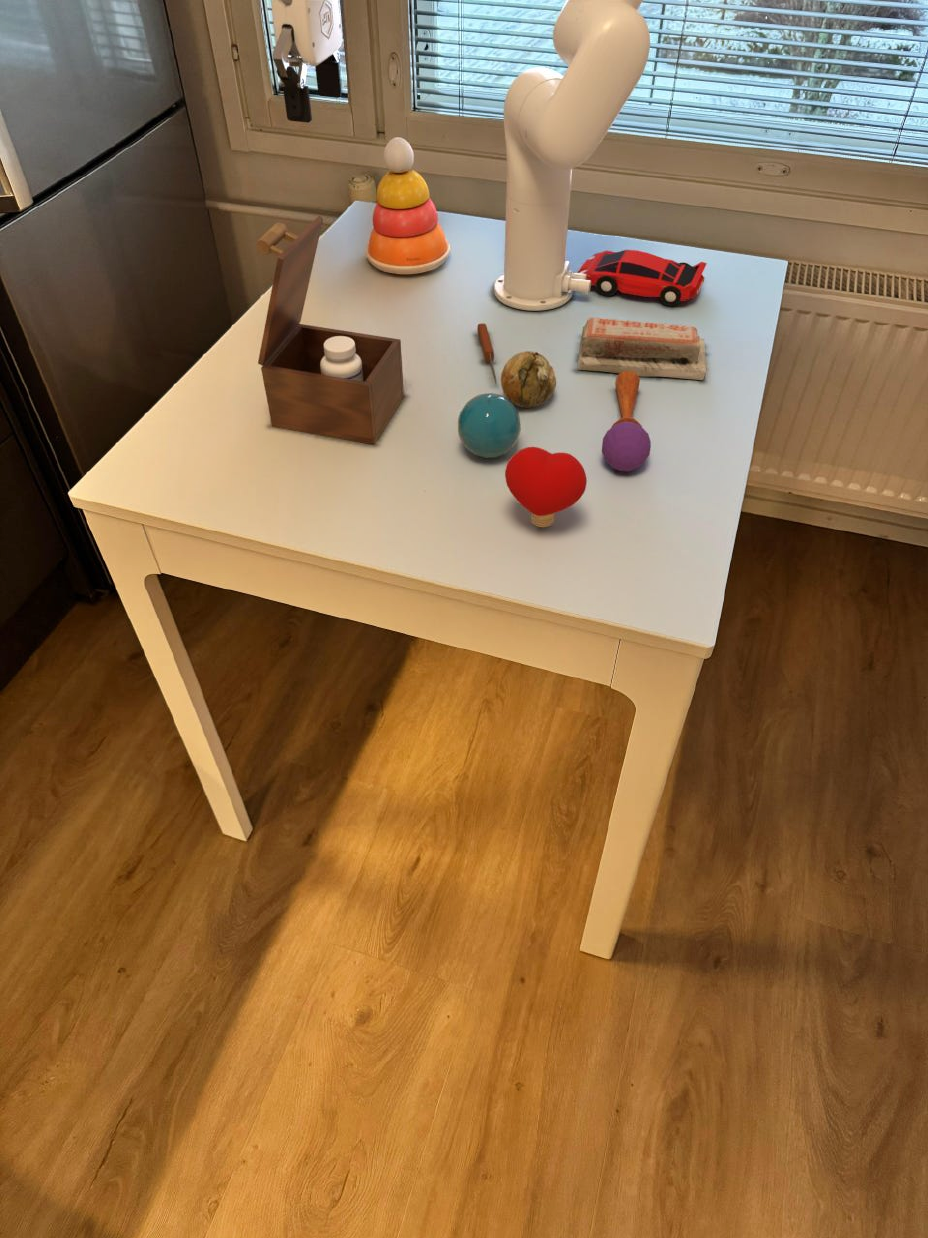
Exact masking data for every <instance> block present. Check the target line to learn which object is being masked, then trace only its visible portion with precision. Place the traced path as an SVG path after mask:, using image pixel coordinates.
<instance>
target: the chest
mask: <svg viewBox="0 0 928 1238" xmlns="http://www.w3.org/2000/svg"><path fill="white" fill-rule="evenodd" d="M335 336H345V337H349V338H351V339H352V340H353V341H354V342H355V349H356V352H355V353H356V354H357V355H358V356H359V357H360V359H361V361H362V370H363V381H357V380H351V379H345V378H339V377H333V376H327V375H321V368H320V362H321V360H322V358H323V357H324V356H325V354H324V342H325V341H326V340H327V339H329V338H331V337H335ZM260 370H261V376H262V382H263V386H264V387H263V388H264V392H265V396H266V402H267V407H268V413H269V419H270V423H271V427H274V428H278V429H279V428H280V429H286V430H290V431H297V432H302V433H308V434H314V435H318V436H323V437H330V438H334V439H341V440H346V441H351V442H357V443H362V444H366V445H367V444H368V445H372V446H375V444H376V442H377V441H378V439H379V437H380V436H381V435H382V433H383V432H384V430H385V428H386V427H387V425H388V424H389V422H390V420H391V419H392V417H393V416H394V414H395V412H396V411H397V409H398V408H399V406H400V404H401V403H402V401H403V399H404V398H405V389H404V388H405V387H404V371H403V355H402V341H401V339H400V338H393V337H387V336H381V335H375V334H369V333H361V332H355V331H348V330H341V329H335V328H331V327H323V326H318V325H317V326H316V325H311V324H304V323H299V324H298V325H297V326H296V328H295V329H294V330H293V331H292V332H291V333H290V335H289V336H288V337H287V338H286V339H285V340H284V341H283V343H282V344H281V345H280V346H279V347H278V348H277V350H276V351H275V352H274V353H273V354H272V355H271V357H270V358H269V359H268V360H267V361H266V362H265V364H264V365H263V366H262V365H261V367H260Z"/></svg>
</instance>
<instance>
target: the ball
mask: <svg viewBox="0 0 928 1238" xmlns="http://www.w3.org/2000/svg"><path fill="white" fill-rule="evenodd" d="M521 425H522V424H521V416H520V413H519V411H518V409H517V407H516V406H515V404H514V403H513V402H512V401H510V400H509V399H508V398H507V397H506V396H505V397H504V396H503V395H501V394H497V393H493V392H488V393H487V392H485V393H481V394H478V395H476V396H474V397H473V398H471V399H469V400H468V401H467V402H466V403H465V405H464V406H463V407H462V409H461V410H460V412H459V414H458V418H457V433H458V437H459V440H460V441H461V443H462V445H463V446H464V447H465V448H466V450H467V451H469V452H470V453H471V454H473V455H475V456H477V457H480V458H483V459H494V458H498V457H501V456H503V455H505V454H506V453H508V452H509V451H511V450H513V448H514V447H515V445H516V443H517V442H518V439H519V437H520V435H521V431H522V428H521Z"/></svg>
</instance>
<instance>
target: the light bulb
mask: <svg viewBox="0 0 928 1238" xmlns="http://www.w3.org/2000/svg"><path fill="white" fill-rule="evenodd" d="M504 471H505V472H504V478H505V483H506V487H507V488H508V490H509V492H510V493H511V495H512V496H513V498H514V499H515V500H516V501H517V502H518V503H519V504H520V505H521V506H522V507H523V508H524V509H526V511H529V512H530V513H531V514H530V515H531V516H530V521H531V523H532V524H533V525H534V526H535V527H539V528H548V527H550V526H552V525H553V524H554V521H555V514H556V513H560V512H561V511H564V510H566V509H569V508H570V507H572V506H573V505H575V504H576V503H577V502H578V501H580V500H581V498H582V496H583V495H584V494H585V491H586V490H587V489H586V488H587V482H588V480H587V478H588V477H587V474H586V470H585V469H584V467H583V465H582V463H581V462H580V461H579V460H578V458H576V457H575V456H573V455H572V454H570V453H567V452H554V453H551V452H550V451H548V450H546V449H544V448H542V447H538V446H527V447H524V448H522V449H520V450H518V451H517V452H516V453H514V454H513V455H512V456H511V457H510V458H509V460H508V462H507V463H506V467H505V470H504Z"/></svg>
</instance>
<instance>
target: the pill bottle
mask: <svg viewBox="0 0 928 1238" xmlns="http://www.w3.org/2000/svg"><path fill="white" fill-rule="evenodd" d="M355 352H356V349H355V342H354V341H353V340H352V339H351V338H349V337H345V336H335V337H331V338H329V339H327V340H326V341H325V342H324V354H325V356H324V357H323V358H322V360H321V362H320V368H321V375H327V376H333V377H339V378H345V379H351V380H357V381H363V370H362V361H361V359H360V357H359V356H358V355H357V354H356V353H355Z"/></svg>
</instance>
